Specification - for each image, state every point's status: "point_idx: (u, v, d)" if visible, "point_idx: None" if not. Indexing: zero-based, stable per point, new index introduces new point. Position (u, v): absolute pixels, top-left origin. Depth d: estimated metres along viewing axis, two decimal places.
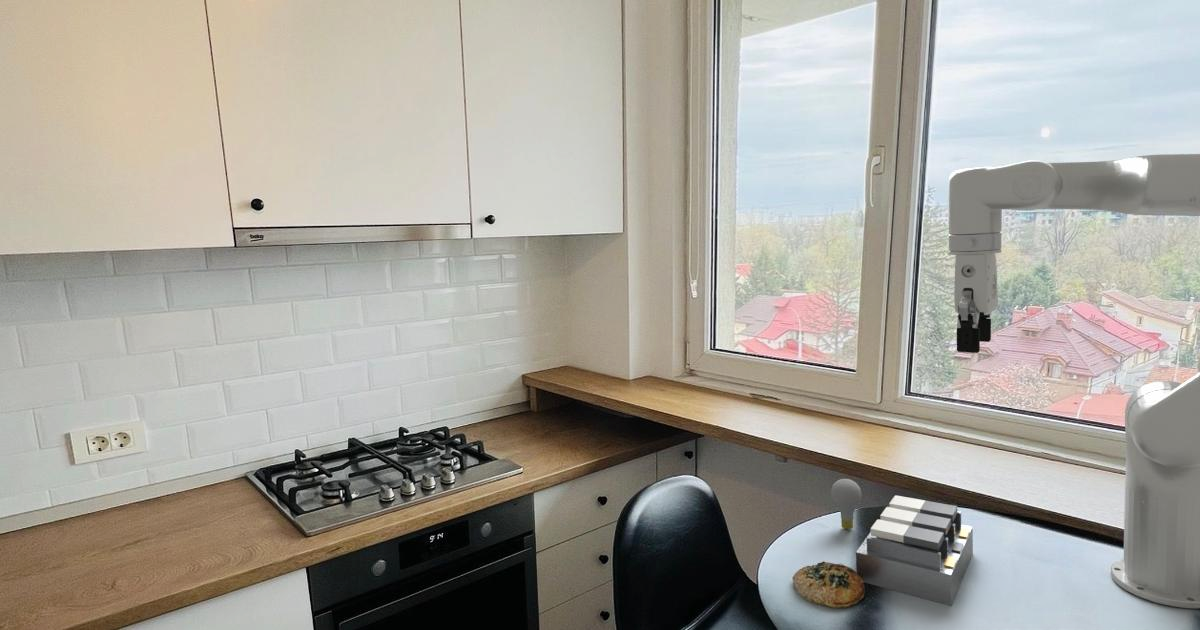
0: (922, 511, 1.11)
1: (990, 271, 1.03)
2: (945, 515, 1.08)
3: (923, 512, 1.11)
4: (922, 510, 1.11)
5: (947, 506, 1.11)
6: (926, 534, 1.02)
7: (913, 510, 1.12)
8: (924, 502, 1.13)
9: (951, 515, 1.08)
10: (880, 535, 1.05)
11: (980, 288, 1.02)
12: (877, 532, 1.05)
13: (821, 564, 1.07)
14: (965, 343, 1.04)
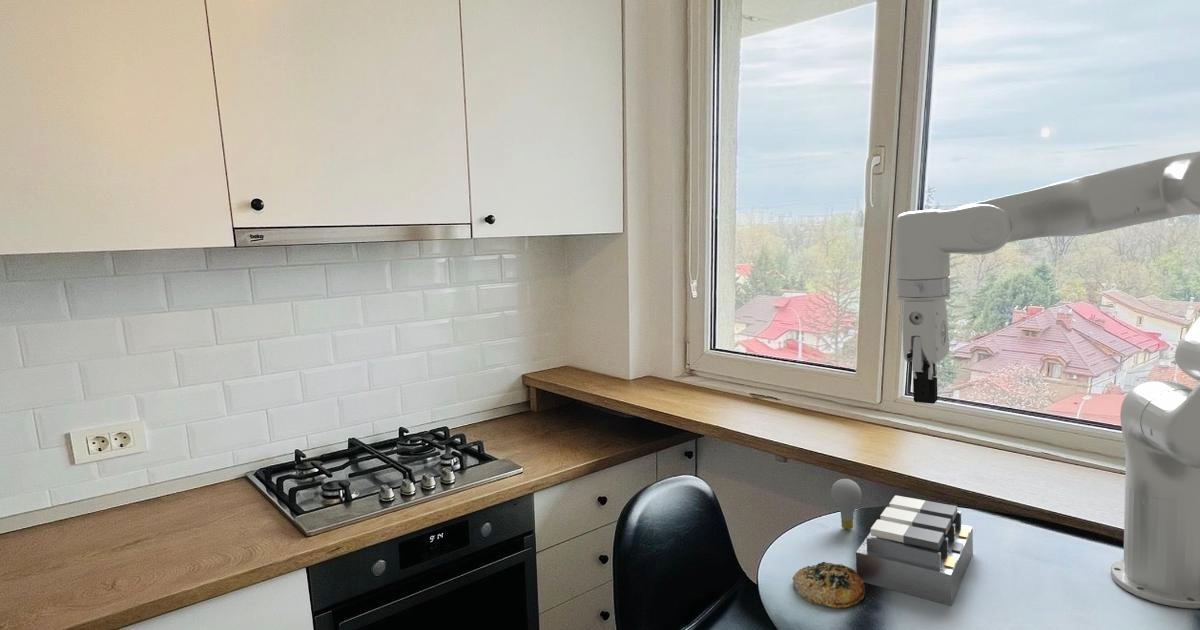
0: (922, 511, 1.11)
1: (938, 318, 0.99)
2: (945, 515, 1.08)
3: (923, 512, 1.11)
4: (922, 510, 1.11)
5: (947, 506, 1.11)
6: (926, 534, 1.02)
7: (913, 510, 1.12)
8: (924, 502, 1.13)
9: (951, 515, 1.08)
10: (880, 535, 1.05)
11: (928, 336, 0.98)
12: (877, 532, 1.05)
13: (821, 564, 1.07)
14: (921, 394, 1.03)
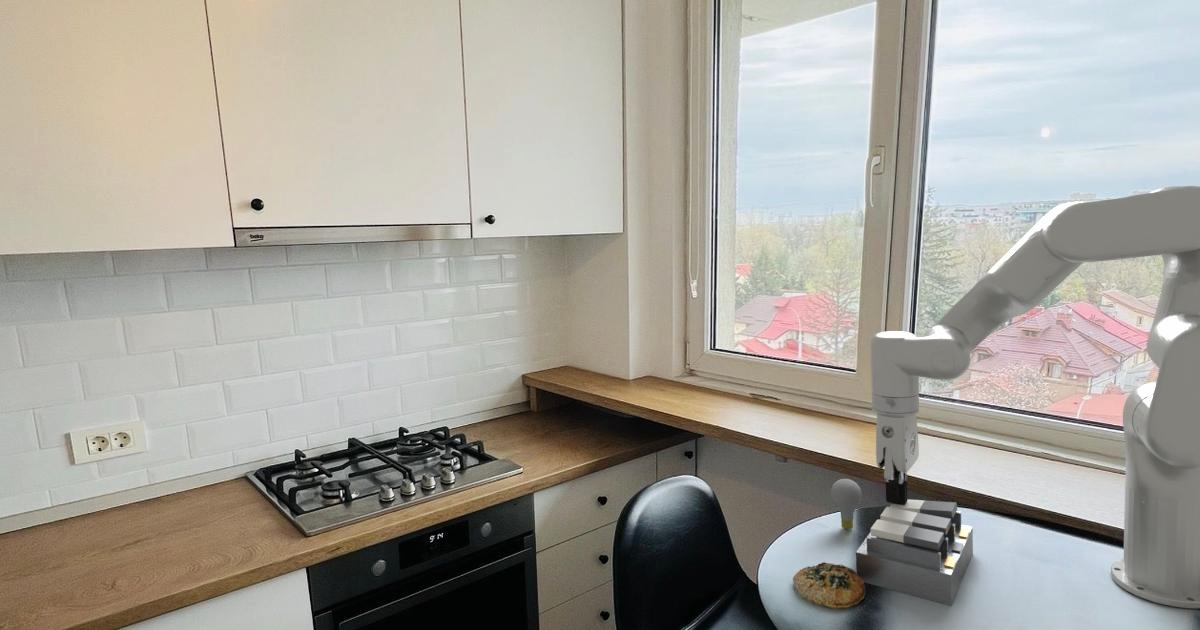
0: (922, 511, 1.11)
1: (908, 432, 1.10)
2: (944, 512, 1.08)
3: (923, 512, 1.11)
4: (921, 510, 1.11)
5: (946, 503, 1.11)
6: (926, 534, 1.02)
7: (913, 511, 1.12)
8: (923, 502, 1.13)
9: (950, 511, 1.08)
10: (880, 535, 1.05)
11: (898, 449, 1.09)
12: (877, 532, 1.05)
13: (821, 565, 1.07)
14: (893, 496, 1.14)
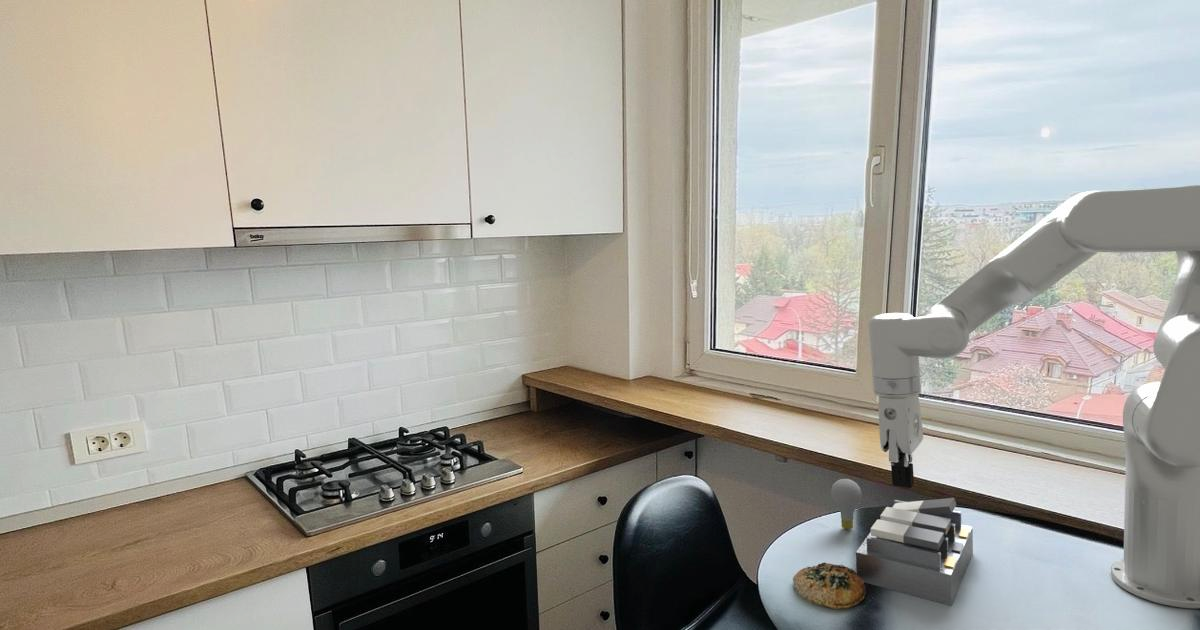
0: (921, 510, 1.11)
1: (910, 413, 1.09)
2: (943, 508, 1.09)
3: (922, 511, 1.11)
4: (921, 509, 1.11)
5: (944, 500, 1.11)
6: (926, 534, 1.02)
7: None
8: (922, 502, 1.13)
9: (948, 507, 1.08)
10: (880, 535, 1.05)
11: (902, 430, 1.08)
12: (877, 532, 1.05)
13: (822, 565, 1.07)
14: (899, 479, 1.13)
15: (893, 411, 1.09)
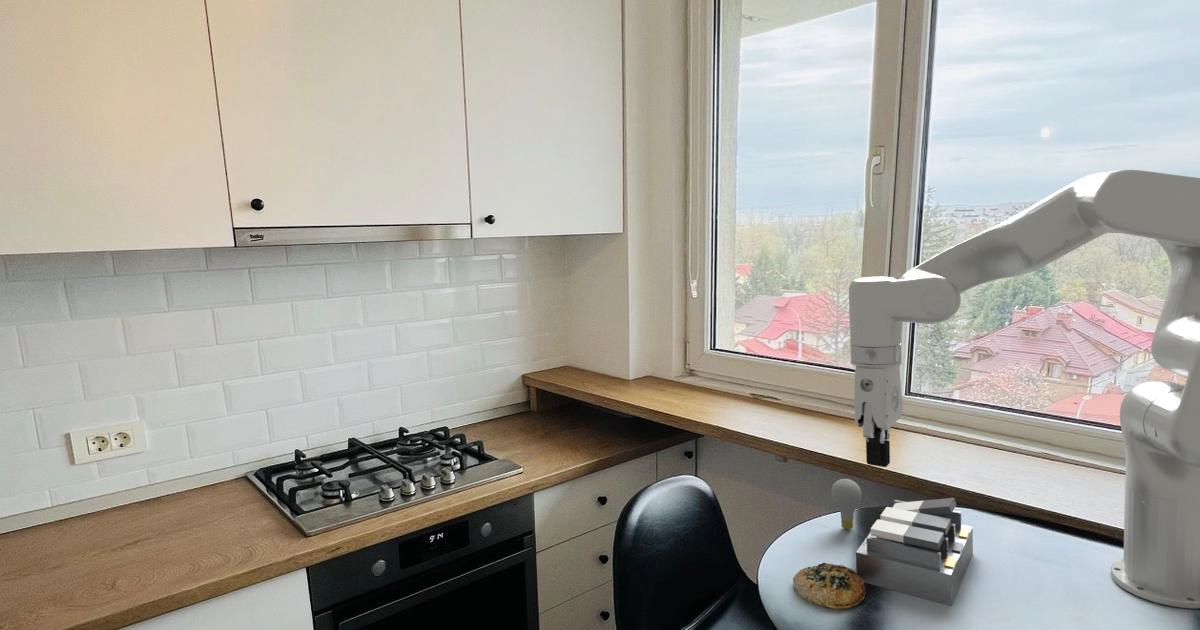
0: (921, 510, 1.11)
1: (889, 385, 1.00)
2: (943, 508, 1.09)
3: (922, 511, 1.11)
4: (921, 509, 1.11)
5: (944, 500, 1.11)
6: (926, 534, 1.02)
7: None
8: (922, 502, 1.13)
9: (948, 507, 1.08)
10: (880, 535, 1.05)
11: (878, 403, 0.99)
12: (877, 532, 1.05)
13: (822, 565, 1.07)
14: (874, 457, 1.04)
15: (870, 382, 1.00)
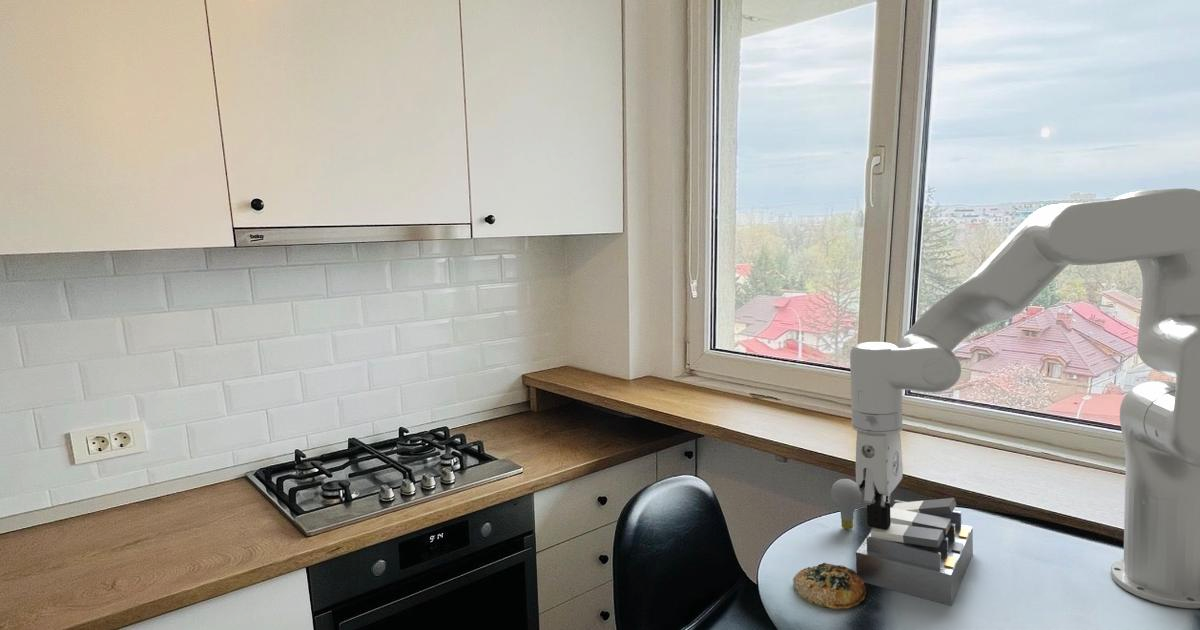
0: (921, 510, 1.11)
1: (890, 451, 1.01)
2: (943, 508, 1.09)
3: (922, 511, 1.11)
4: (921, 509, 1.11)
5: (944, 500, 1.11)
6: (925, 533, 1.02)
7: None
8: (922, 502, 1.13)
9: (948, 507, 1.08)
10: (880, 537, 1.05)
11: (879, 470, 1.00)
12: (877, 533, 1.05)
13: (822, 565, 1.07)
14: (874, 520, 1.05)
15: (871, 448, 1.01)
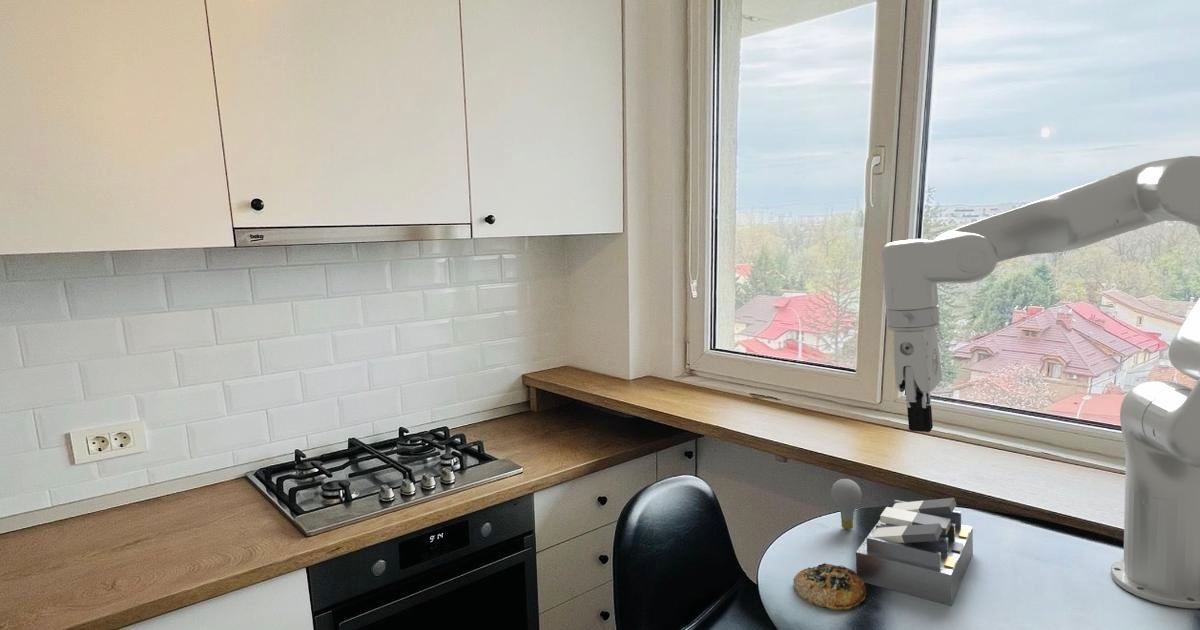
0: (921, 510, 1.11)
1: (929, 347, 0.99)
2: (943, 508, 1.09)
3: (922, 511, 1.11)
4: (921, 509, 1.11)
5: (944, 500, 1.11)
6: (923, 529, 1.02)
7: None
8: (922, 502, 1.13)
9: (948, 507, 1.08)
10: None
11: (920, 366, 0.98)
12: (878, 538, 1.05)
13: (822, 566, 1.06)
14: (916, 423, 1.03)
15: (910, 346, 0.99)
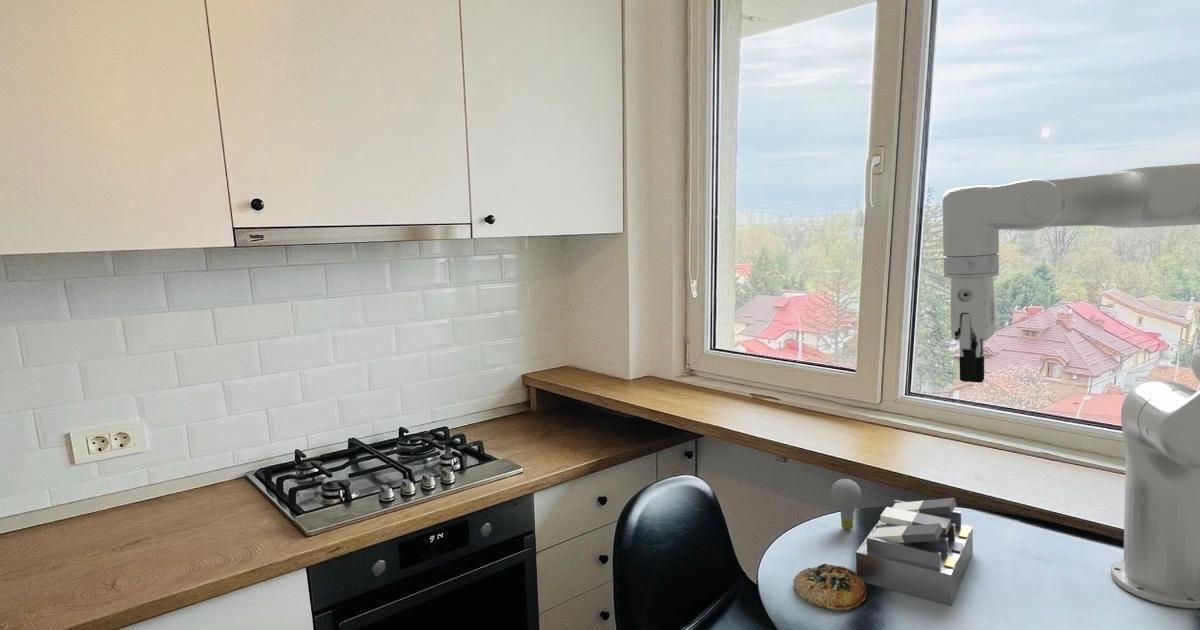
0: (921, 510, 1.11)
1: (988, 295, 0.98)
2: (943, 508, 1.09)
3: (922, 511, 1.11)
4: (921, 509, 1.11)
5: (944, 500, 1.11)
6: (923, 529, 1.02)
7: None
8: (922, 502, 1.13)
9: (948, 507, 1.08)
10: None
11: (978, 313, 0.97)
12: (878, 538, 1.05)
13: (822, 566, 1.06)
14: (968, 373, 1.02)
15: (968, 293, 0.98)
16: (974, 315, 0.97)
